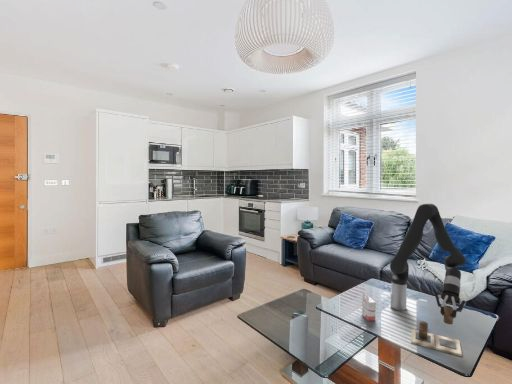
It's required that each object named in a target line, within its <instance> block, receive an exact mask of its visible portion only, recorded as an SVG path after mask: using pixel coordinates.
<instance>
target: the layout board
mask: <svg viewBox="0 0 512 384" xmlns="http://www.w3.org/2000/svg"><path fill="white" fill-rule="evenodd" d="M410 335H411V337H410V344H414V345H418V346H422V347H425V348H429V349H432V350H436V351H440V352H443V353H447V354H451V355H454V356H459V357H463V354H462V353H463V352H462V347H461V342H460V339H455V338H451V337H447V336H442V335H439V334H435V333H430V332H428V334H427V339H422V338H420V337H419V329H415V328H411V334H410Z"/></svg>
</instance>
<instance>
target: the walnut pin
mask: <svg viewBox="0 0 512 384" xmlns="http://www.w3.org/2000/svg"><path fill="white" fill-rule="evenodd" d="M453 310H454V308H453V306H452V305H451V306H450V305H446V306H444V316H443V322H444V324H447V325H453V323H454V318H452V315H453Z"/></svg>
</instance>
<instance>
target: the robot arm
mask: <svg viewBox="0 0 512 384" xmlns="http://www.w3.org/2000/svg"><path fill="white" fill-rule="evenodd" d="M428 220H429V222H430V224H431V226H432V228H433V233H434V237H435V239H436V242H437V244H438V246H439V247H440V249H441V251H443V253H444V252H445V253H446V252H448V253H449V254H450V255H447V256H445V257H444V260H443V262H444V263H443V264H444V269H445V276H444V280H443V286H442V292H441V293H440V294H437V293H435V300H436V305H437V307H438V308H439V307H440V311H439V312H440V314H441V316H443V317H444V306H447V305H451V306H452V307H453V315H452V318H453V319H456V317H457V313H458V312H459V313H461V312H462V311H463V310H464V308H465V306H466V305H467V302H466V300H463V299H461V298H460V294H461V293H460V292H461V280H462V279H461V277H462V273H461V270H460V269H458V267H462V266H465V265H466V263H467V261H466V260H467V259H466V257H465V255H464V254H463V252H461V251H460V250H459V248H458V247H457V246H456V245H455V244H454V242H453V240H452V238H451V236H450V234H449V233H448V231H447V229H446V226H445V225H444V222H443V219H442V217H441V213H440V211H439V209H438V206H436V205H435V204H434V203H422V204H420V205H418V207H417V209H416V211H415V215H414V217H413V220H412V222H411V224H410V226H409V227H408V229H407V232H406V233H405V235H404V238H403V240H402V242H401V244H400V246H399V248H398V251H397V252H396V254H395V256H394V257H393V259H392V260H391V262H390V264H389V268H390V271H391V272H392V273H393V275H392V276H391V284H390V286H391V289H390V290H391V293H390V308H392V309H394V310H397V311H406V310H407V289H408V287H407V285H408V279H409V270H410V269H409V268H410V265H409V263H408V260H409V258H410V257H411V256H412V255H413V253H414V252H415V251H416V250H417V249H418V248H419V246H420V243H421V242H422V240H423V237H424V236H423V235H424V228H425V226H426V224H427V222H428ZM441 299H442V303H440V300H441ZM458 303H459V304H460V305H459V306H458V307H457V306H456V305H457V304H458Z"/></svg>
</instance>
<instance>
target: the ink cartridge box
mask: <svg viewBox="0 0 512 384" xmlns="http://www.w3.org/2000/svg"><path fill="white" fill-rule="evenodd" d="M376 304H377V302H376V301H375V300H373V298H371V296H368V295H366V293H365V292H362V301H361V306H362V307H361V315H362V316H363V317H364V318H365V319H366V320H367V321H368V322H370V321H371V322H372V321H376Z"/></svg>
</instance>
